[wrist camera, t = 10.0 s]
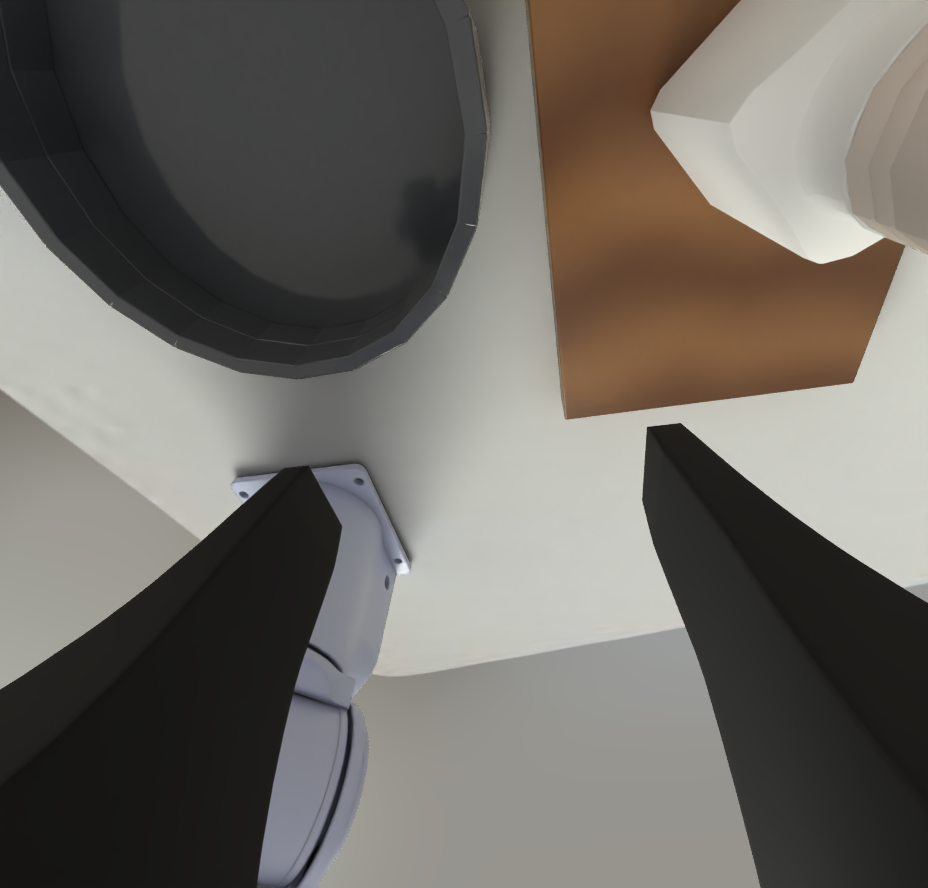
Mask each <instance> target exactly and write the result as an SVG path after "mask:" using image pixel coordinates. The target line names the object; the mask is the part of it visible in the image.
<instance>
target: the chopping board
mask: <svg viewBox="0 0 928 888" xmlns="http://www.w3.org/2000/svg"><path fill="white" fill-rule="evenodd" d="M740 1H741V0H525V4H526V15H527V26H528V37H529V48H530V59H531V70H532V81H533V92H534V103H535V114H536V124H537V135H538V146H539V157H540V168H541V179H542V190H543V201H544V212H545V223H546V234H547V245H548V256H549V267H550V277H551V288H552V299H553V310H554V321H555V332H556V343H557V354H558V365H559V376H560V387H561V398H562V405H563V410H564V416H565V419H574V418H582V417H590V416H598V415H605V414H613V413H621V412H629V411H637V410H645V409H652V408H660V407H668V406H676V405H684V404H691V403H699V402H707V401H715V400H723V399H731V398H738V397H746V396H754V395H762V394H770V393H778V392H785V391H793V390H801V389H809V388H817V387H824V386H832V385H840V384H848V383H853V382H854V379H855V377H856V374H857V371H858V369H859V366H860V364H861V361H862V358H863V356H864V353H865V350H866V348H867V345H868V342H869V340H870V337H871V335H872V332H873V329H874V327H875V324H876V321H877V319H878V316H879V314H880V311H881V308H882V306H883V303H884V300H885V298H886V295H887V292H888V290H889V287H890V285H891V282H892V279H893V277H894V274H895V271H896V269H897V266H898V263H899V261H900V258H901V256H902V253H903V250H904V248H905V245H903V244H900V243H898V242H895V241H893V240H890V239H888V238H883V239H881V240H879V241H878V242H876V243H874V244H872V245H871V246H869V247H867V248H865V249H864V250H862V251H860V252H859V253H857V254H855V255H853V256H850V257H847V258H843V259H839V260H835V261H832V262H828V263H824V264H818V263H816V262H813V261H810V260H807V259H805V258H803V257H801V256H799V255H797V254H796V253H794V252H792V251H790V250H789V249H787V248H785V247H783V246H782V245H780V244H778V243H776V242H775V241H773V240H771V239H769V238H768V237H766V236H764V235H762V234H761V233H759V232H757V231H755V230H754V229H752V228H750V227H749V226H747V225H745V224H743V223H742V222H740V221H738V220H736V219H735V218H733V217H731V216H729V215H728V214H726V213H724V212H722V211H721V210H719V209H717V208H715V207H714V206H712V205H710V203H709V202H708V201H707V199H706V198H705V197H704V195H703V194H702V193H701V191H700V190H699V189H698V187H697V186H696V185H695V183H694V182H693V181H692V179H691V178H690V177H689V175H688V174H687V173H686V171H685V170H684V169H683V167H682V166H681V165H680V163H679V162H678V161H677V159H676V158H675V157H674V155H673V154H672V153H671V151H670V150H669V149H668V147H667V146H666V145H665V143H664V142H663V141H662V139H661V138H660V137H659V135H658V134H657V133H656V131H655V130H654V127H653V122H652V117H651V112H650V110H651V108H652V106H653V104H654V102H655V100H656V98H657V95H658V93H659V91H660V89H661V88H662V87H663V86H664V85H665V84H666V83H667V82H668V81H669V79H670V78H671V77H672V76H673V75H674V74H675V73H676V72H677V71H678V69H679V68H680V67H681V66H682V65H683V64H684V63H685V62H686V61H687V59H688V58H689V57H690V56H691V55H692V54H693V53H694V52H695V51H696V49H697V48H698V47H699V46H700V45H701V44H702V43H703V42H704V41H705V39H706V38H707V37H708V36H709V35H710V34H711V33H712V32H713V31H714V29H715V28H716V27H717V26H718V25H719V24H720V23H721V22H722V21H723V19H724V18H725V17H726V16H727V15H728V14H729V13H730V12H731V11H732V9H733V8H734V7H735V6H736V5H737V4H738V3H739V2H740Z"/></svg>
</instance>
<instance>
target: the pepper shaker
mask: <svg viewBox="0 0 928 888" xmlns="http://www.w3.org/2000/svg"><path fill="white" fill-rule="evenodd" d="M650 112H651V117H652V122H653V127H654V130H655V131H656V133H657V134H658V135H659V137H660V138H661V139H662V141H663V142H664V143H665V145H666V146H667V147H668V149H669V150H670V151H671V153H672V154H673V155H674V157H675V158H676V159H677V161H678V162H679V163H680V165H681V166H682V167H683V169H684V170H685V171H686V173H687V174H688V175H689V177H690V178H691V179H692V181H693V182H694V183H695V185H696V186H697V187H698V189H699V190H700V191H701V193H702V194H703V195H704V197H705V198H706V199H707V201H708V202H709V203H710V205H712V206H714V207H715V208H717V209H719V210H721V211H722V212H724V213H726V214H728V215H729V216H731V217H733V218H735V219H736V220H738V221H740V222H742V223H743V224H745V225H747V226H749V227H750V228H752V229H754V230H755V231H757V232H759V233H761V234H762V235H764V236H766V237H768V238H769V239H771V240H773V241H775V242H776V243H778V244H780V245H782V246H783V247H785V248H787V249H789V250H790V251H792V252H794V253H796V254H797V255H799V256H801V257H803V258H805V259H807V260H810V261H813V262H816V263H818V264H824V263H828V262H832V261H835V260H839V259H843V258H847V257H850V256H853V255H855V254H857V253H859V252H860V251H862V250H864V249H865V248H867V247H869V246H871V245H872V244H874V243H876V242H878V241H879V240H881V239H883V238H888V239H890V240H893V241H895V242H898V243H900V244H903V245H905V246H910V247H912V248H913V249H915V250H918V251H921V252H923V253H926V254H928V0H741V1H740V2H739V3H738V4H737V5H736V6H735V7H734V8H733V9H732V11H731V12H730V13H729V14H728V15H727V16H726V17H725V18H724V19H723V21H722V22H721V23H720V24H719V25H718V26H717V27H716V28H715V29H714V31H713V32H712V33H711V34H710V35H709V36H708V37H707V38H706V39H705V41H704V42H703V43H702V44H701V45H700V46H699V47H698V48H697V49H696V51H695V52H694V53H693V54H692V55H691V56H690V57H689V58H688V59H687V61H686V62H685V63H684V64H683V65H682V66H681V67H680V68H679V69H678V71H677V72H676V73H675V74H674V75H673V76H672V77H671V78H670V79H669V81H668V82H667V83H666V84H665V85H664V86H663V87H662V88H661V89H660V91H659V93H658V95H657V98H656V100H655V102H654V104H653V106H652V108H651V110H650Z"/></svg>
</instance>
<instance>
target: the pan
mask: <svg viewBox="0 0 928 888" xmlns="http://www.w3.org/2000/svg"><path fill="white" fill-rule="evenodd" d="M489 134H490V117H489V110H488V103H487V96H486V89H485V80H484V74H483V68H482V61H481V54H480V47H479V40H478V33H477V30H476V26H475V22H474V20H473V18H472V15H471V13H470V10H469V8H468V5H467V3H466V1H465V0H0V186H1V187H2V189H3V190H4V191H5V193H6V194H7V195H8V196H9V198H10V199H11V200H12V202H13V203H14V204H15V206H16V207H17V208H18V210H19V211H20V212H21V214H22V215H23V216H24V218H25V219H26V220H27V222H28V223H29V224H30V226H31V227H32V228H33V230H34V231H35V232H36V234H37V235H38V236H39V238H40V239H41V240H42V242H43V243H44V244H46V247H47V248H48V249H49V250H50V251H51V252H53V253H54V254H55V255H56V256H57V257H58V258H59V259H60V260H61V261H62V262H63V263H64V264H65V265H66V266H68V267H69V268H70V269H71V270H72V271H73V272H74V273H75V274H76V275H77V276H78V277H79V278H80V279H81V280H82V281H84V282H85V283H86V284H87V285H88V286H89V287H90V288H91V289H92V290H93V291H94V292H95V293H96V294H97V295H99V296H100V297H101V298H102V299H103V300H104V301H105V302H106V303H107V304H108V305H110V306H111V307H112V308H114V309H115V310H117V311H119V312H120V313H122V314H123V315H125V316H126V317H128V318H130V319H131V320H133V321H134V322H136V323H137V324H139V325H140V326H142V327H144V328H145V329H147V330H148V331H150V332H151V333H153V334H155V335H156V336H158V337H159V338H161V339H162V340H164V341H165V342H167V343H169V344H170V345H172V346H173V347H176V348H177V349H180V350H183V351H185V352H188V353H191V354H193V355H196V356H198V357H201V358H204V359H206V360H209V361H211V362H214V363H217V364H219V365H222V366H225V367H227V368H230V369H232V370H235V371H239V372H242V373H250V374H258V375H266V376H274V377H282V378H290V379H304V378H310V377H316V376H322V375H329V374H335V373H341V372H347V371H353V370H356V369H358V368H360V367H362V366H364V365H366V364H367V363H369V362H371V361H373V360H375V359H377V358H379V357H381V356H382V355H384V354H386V353H388V352H390V351H392V350H394V349H396V348H397V347H399V346H401V345H403V344H404V343H406V342H407V341H408V340H409V339H410V338H411V337H412V336H413V335H414V333H415V332H416V331H417V330H418V329H419V328H420V327H421V326H422V325H423V323H424V322H425V321H426V320H427V319H428V318H429V317H430V316H431V315H432V313H433V312H434V311H435V310H436V309H437V308H438V307H439V306H440V305H441V303H442V302H443V301H444V300H445V299H446V298H447V295H448V294H449V292H450V290H451V287H452V285H453V283H454V280H455V278H456V276H457V273H458V271H459V269H460V266H461V264H462V262H463V259H464V257H465V255H466V252H467V250H468V248H469V245H470V243H471V241H472V238H473V236H474V234H475V231H476V228H477V225H478V220H479V214H480V209H481V204H482V196H483V187H484V178H485V169H486V161H487V152H488V143H489Z"/></svg>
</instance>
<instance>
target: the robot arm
mask: <svg viewBox="0 0 928 888" xmlns="http://www.w3.org/2000/svg"><path fill="white" fill-rule="evenodd" d="M357 478H360V479H362V480H359V479H357ZM231 488H232V490H233V491H234V492H235V494H236V495H237V496H238V498H239V499H240V500H241V502H242V503H243V504H242V505H241V506H240V507H239V508H238V509H237V510H236V511H235V512H233V513H232V514H231V515H230V516H229V517H228V518H227V519H226V520H225V521H224V522H222V523H221V524H220V525H219V526H218V527H217V528H216V529H215V530H214V531H212V532H211V533H210V534H209V535H208V536H207V537H206V538H205V539H204V540H202V541H201V542H200V543H199V544H198V545H197V546H195V547H194V548H193V549H192V550H191V551H190V552H188V553H187V554H186V555H185V556H184V557H183V558H181V559H180V560H179V561H178V562H177V563H175V564H174V565H173V566H172V567H171V568H170V569H168V570H167V571H166V572H165V573H164V574H162V575H161V576H160V577H159V578H158V579H157V580H155V581H154V582H153V583H152V584H150V585H149V586H148V587H147V588H145V589H144V590H143V591H142V592H140V593H139V594H138V595H136V596H135V597H134V598H133V599H131V600H130V601H129V602H127V603H126V604H125V605H124V606H122V607H121V608H119V609H118V610H117V611H115V612H114V613H113V614H111V615H110V616H109V617H107V618H106V619H105V620H103V621H102V622H101V623H99V624H98V625H96V626H95V627H94V628H92V629H91V630H89V631H88V632H87V633H85V634H84V635H82V636H81V637H79V638H78V639H76V640H75V641H73V642H72V643H70V644H69V645H68V646H66V647H64V648H63V649H62V650H60V651H58V652H57V653H55V654H54V655H53V656H51V657H50V658H48V659H47V660H45V661H44V662H42V663H41V664H39V665H38V666H36V667H35V668H33V669H32V670H30V671H29V672H27V673H26V674H24V675H23V676H21V677H20V678H18V679H16V680H15V681H13V682H12V683H10V684H9V685H7V686H5V687H4V688H2V689H0V888H318V887H319V885H320V883H321V881H322V879H323V877H324V875H325V874H326V872H327V870H328V868H329V867H330V866H331V865H332V863H333V862H334V860H335V859H336V857H337V856H338V854H339V852H340V850H341V848H342V846H343V844H344V842H345V840H346V838H347V835H348V833H349V831H350V828H351V826H352V823H353V820H354V818H355V815H356V812H357V809H358V805H359V801H360V798H361V794H362V790H363V786H364V781H365V776H366V770H367V763H368V753H369V740H368V732H367V729H366V726H365V719H364V715H363V712H362V710H361V708H360V707H359V706H358V705H356V704H354V703H351V698H352V696H354V695H355V694H356V693H357V692H358V691H359V690H360V688H361V687H362V686H363V685H364V684H365V682H366V681H367V680H368V678H369V676H370V675H371V673H372V671H373V669H374V667H375V665H376V662H377V659H378V656H379V651H380V647H381V642H382V638H383V633H384V629H385V624H386V620H387V615H388V610H389V606H390V601H391V597H392V592H393V588H394V583H395V579H396V575H405V574H408V573H410V571H411V564H410V562H409V560H408V558H407V556H406V554H405V552H404V550H403V547H402V545H401V543H400V541H399V539H398V537H397V535H396V532H395V530H394V528H393V526H392V524H391V522H390V520H389V518H388V515H387V513H386V511H385V509H384V507H383V505H382V503H381V500H380V498H379V496H378V494H377V492H376V490H375V488H374V486H373V483H372V481H371V479H370V477H369V475H368V473H367V471H366V469H365V468H364V467H363V466H362V465H360V464H347V465H339V466H331V467H322V468H314V469H310V467H309V466H301V467H293V468H284V469H283V470H282V471H280V472H279V473H273V474H264V475H256V476H248V477H239V478H235V479H234V480H233V482H232V483H231ZM642 501H643V505H644V509H645V513H646V517H647V521H648V525H649V529H650V533H651V537H652V541H653V544H654V547H655V550H656V553H657V555H658V558H659V560H660V563H661V566H662V568H663V571H664V573H665V576H666V579H667V581H668V584H669V586H670V589H671V591H672V594H673V596H674V599H675V601H676V604H677V607H678V609H679V612H680V614H681V617H682V619H683V622H684V624H685V627H686V629H687V632H688V634H689V637H690V639H691V642H692V645H693V647H694V649H695V652H696V655H697V658H698V661H699V664H700V667H701V670H702V673H703V675H704V678H705V682H706V685H707V689H708V692H709V696H710V699H711V702H712V706H713V710H714V713H715V717H716V720H717V723H718V727H719V731H720V734H721V738H722V741H723V745H724V749H725V752H726V756H727V760H728V763H729V767H730V771H731V774H732V778H733V782H734V785H735V789H736V793H737V796H738V800H739V804H740V808H741V812H742V816H743V819H744V823H745V827H746V831H747V835H748V839H749V843H750V847H751V851H752V855H753V859H754V862H755V866H756V870H757V874H758V879H759V883H760V887H761V888H928V603H927V602H925V601H924V600H922V599H920V598H918V597H917V596H915V595H913V594H912V593H910V592H908V591H907V590H905V589H903V588H902V587H900V586H899V585H897V584H895V583H894V582H892V581H891V580H889V579H887V578H886V577H884V576H883V575H881V574H879V573H878V572H876V571H875V570H873V569H871V568H870V567H868V566H867V565H865V564H863V563H862V562H860V561H859V560H857V559H855V558H854V557H852V556H851V555H849V554H848V553H846V552H845V551H843V550H842V549H840V548H839V547H837V546H836V545H834V544H833V543H831V542H830V541H829V540H827V539H826V538H824V537H823V536H821V535H820V534H819V533H817V532H816V531H814V530H813V529H812V528H810V527H809V526H807V525H806V524H805V523H803V522H802V521H800V520H799V519H798V518H796V517H795V516H793V515H792V514H791V513H789V512H788V511H787V510H785V509H784V508H783V507H782V506H780V505H779V504H778V503H776V502H775V501H774V500H772V499H771V498H770V497H769V496H767V495H766V494H765V493H764V492H762V491H761V490H760V489H759V488H757V487H756V486H755V485H753V484H752V483H751V482H750V481H748V480H747V479H746V478H745V477H743V476H742V475H741V474H740V473H739V472H737V471H736V470H735V469H734V468H733V467H731V466H730V465H729V464H728V463H727V462H725V461H724V460H723V459H722V458H721V457H720V456H718V455H717V454H716V453H715V452H714V451H713V450H711V449H710V448H709V447H708V446H707V445H706V444H704V443H703V442H702V441H701V440H700V439H699V438H697V437H696V436H695V435H694V434H693V433H692V432H690V431H689V430H688V429H687V428H686V427H684V426H683V425H682V424H681V423H678V424H669V425H660V426H652V427H647V435H646V451H645V466H644V482H643V497H642Z"/></svg>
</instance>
